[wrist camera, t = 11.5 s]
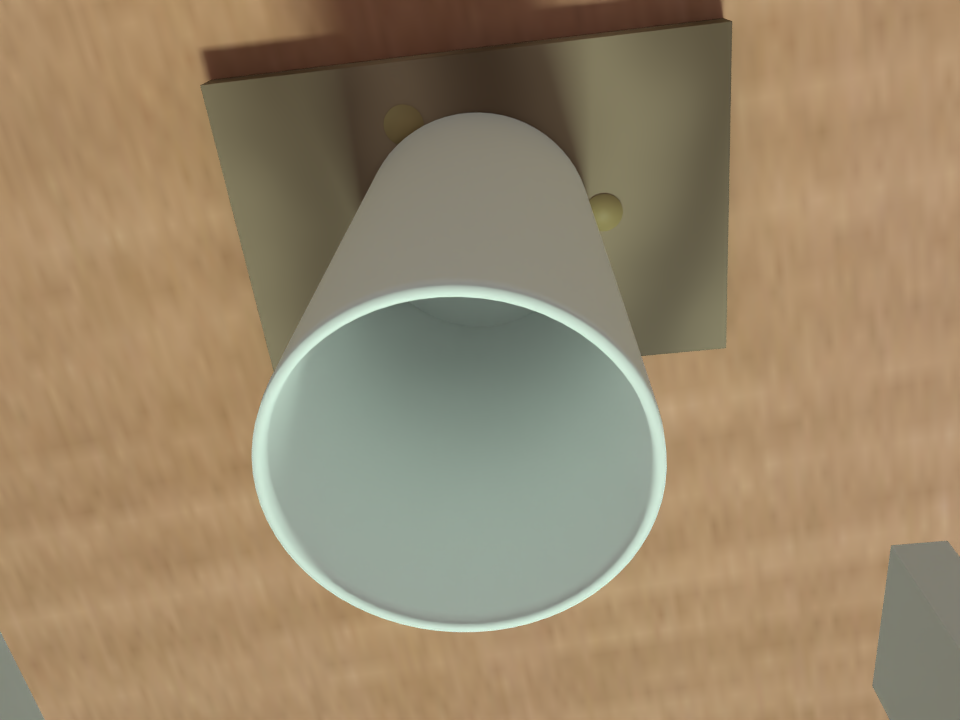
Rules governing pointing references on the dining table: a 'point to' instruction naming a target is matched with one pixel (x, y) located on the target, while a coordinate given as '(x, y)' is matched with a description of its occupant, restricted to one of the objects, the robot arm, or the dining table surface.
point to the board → (520, 95)
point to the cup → (464, 394)
